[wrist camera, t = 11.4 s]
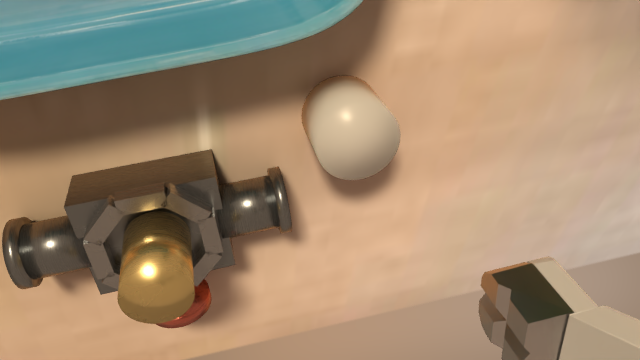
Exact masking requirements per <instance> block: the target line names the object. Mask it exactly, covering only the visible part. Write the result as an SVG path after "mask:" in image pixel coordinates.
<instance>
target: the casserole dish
mask: <svg viewBox="0 0 640 360" xmlns="http://www.w3.org/2000/svg"><path fill="white" fill-rule="evenodd" d="M362 1H363V0H0V100H4V99H10V98H16V97H21V96H27V95H33V94H38V93H44V92H49V91H54V90H59V89H64V88H70V87H75V86H81V85H86V84H92V83H97V82H102V81H108V80H113V79H118V78H124V77H129V76H134V75H140V74H145V73H151V72H156V71H162V70H167V69H172V68H178V67H183V66H189V65H194V64H199V63H205V62H210V61H215V60H220V59H226V58H231V57H235V56H240V55H244V54H249V53H253V52H258V51H263V50H267V49H271V48H275V47H279V46H282V45H286V44H289V43H292V42H295V41H299V40H302V39H304V38H307V37H310V36H312V35H315V34H317V33H320V32H322V31H324V30H326V29H328V28H330V27H332V26H333V25H335V24H336V23H338V22H340V21H341V20H343V19H344V18H345V17H347V16H348V15H349V14H351V13H352V12H353V11H354V10H355V9H356V8H357V7H358V6H359V5H360V4H361V3H362Z"/></svg>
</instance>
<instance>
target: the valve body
mask: <svg viewBox="0 0 640 360" xmlns="http://www.w3.org/2000/svg"><path fill="white" fill-rule="evenodd" d="M267 172H268V176H263V177H258V178H253V179H248V180H243V181H238V182H233V183H228V184H223V185H219V181H218V176H217V172H216V167H215V163H214V158H213V154H212V149H211V150H206V151H201V152H195V153H190V154H185V155H180V156H174V157H169V158H164V159H158V160H153V161H148V162H143V163H137V164H132V165H127V166H122V167H116V168H111V169H106V170H101V171H95V172H90V173H85V174H80V175H74V176H72V179H71V183H70V186H69V190H68V194H67V198H66V201H65V205H64V208H65V211H66V213H67V215H68V216H63V217H58V218H53V219H48V220H43V221H38V222H33V223H32V222H31V220H29V219H28V218H26V217H21V218H16V219H11V220H9V221H8V222H7V223H6V225H5V227H4V230H3V237H2V247H3V255H4V260H5V264H6V267H7V270H8V273H9V275H10V277H11V279H12V281H13V282H14V283H15V285H16V286H17V287H19V288H20V289H28V288H32V287H37V286H39V285H40V284H41V282H42V280H43V278H45V277H50V276H54V275H59V274H64V273H68V272H73V271H78V270H82V269H87V268H90V270H91V272H92V275H93V277H94V280H95V282H96V284H97V287H98V289H99V292H100V294H106V293H110V292H115V291H118V288H119V277H120V267H121V257H122V247H123V236H124V232H125V229H126V227H127V226H128V225H129V223H130V222H131V221H132V220H134V219H135V218H137V217H138V216H140V215H143V214H145V213H149V212H167V213H171V214H173V215H176V216H178V217H179V218H181V219H182V220H183V221H184V222H185V223H186V224H187V226H188V228H189V230H190V234H191V246H192V261H193V276H194V290H195V296H194V301H193V303H192V305H191V307H190V308H189V309H188V310H187V311H186V312H185V313H184V314H183V315H181V316H180V317H178V318H176V319H174V320H171V321H168V322H164V323H157V324H156V325H158V326H160V327H164V328H178V327H183V326H186V325H189V324H191V323H193V322H195V321H196V320H198V319H199V318H201V317H202V316H203V315H204V314H205V313H206V311H207V310H208V308H209V306H210V304H211V293H210V290H209V286H208V283H207V282H206V280H205V279H204V278H205V277H206V275H207V274H208V273H209V272H210V271H211V270H214V269H218V268H223V267H227V266H232V265H235V259H234V253H233V247H232V241H231V237H236V236H241V235H245V234H250V233H255V232H259V231H264V230H269V229H273V228H278V227H279V231H280V233H281V234H282V233H286V232H291V231H292V223H291V216H290V210H289V204H288V199H287V195H286V190H285V186H284V182H283V178H282V174H281V171H280V169H279V167H274V168H269V169H267Z"/></svg>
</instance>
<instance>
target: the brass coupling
mask: <svg viewBox="0 0 640 360" xmlns="http://www.w3.org/2000/svg"><path fill="white" fill-rule="evenodd" d="M194 296H195V290H194V276H193V261H192V246H191V234H190V230H189V228H188V226H187V224H186V223H185V222H184V221H183V220H182V219H181V218H179V217H178V216H176V215H173V214H171V213H167V212H149V213H145V214H143V215H140V216H138V217H137V218H135V219H134V220H132V221H131V222H130V223H129V225H128V226H127V227H126V229H125V232H124V236H123V247H122V257H121V267H120V277H119V288H118V304H119V306H120V308H121V310H122V311H123V312H124V313H125V314H126V315H127V316H128V317H130V318H132V319H134V320H136V321H139V322H143V323H150V324H157V323H164V322H168V321H171V320H174V319H176V318H178V317H180V316H181V315H183V314H184V313H185V312H186V311H187V310H188V309H189V308H190V307H191V305H192V303H193V301H194Z"/></svg>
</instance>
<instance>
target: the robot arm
mask: <svg viewBox="0 0 640 360" xmlns="http://www.w3.org/2000/svg"><path fill="white" fill-rule="evenodd" d="M481 287H482V288H483V290H484V291H485V294H484V295H483V297H482V298H481V299H480V301H479V315H480V320H481V324H482V327H483V329H484V331H485V333H486V335H487V337H488V338H489V340H490V341H491V343H493V344H495V345H497V346H499V347H501V348H502V349H503V351H502V360H640V320H638V319H635V318H633V317H631V316H629V315H626V314H624V313H622V312H619V311H617V310H615V309H612V308H610V307H608V306H601V307H598V306H597V305H596V304H595V302H594V301H593V300H592V299H591V298H590V297H589V296H588V295H587V294H586V293H585V292H584V291H583V290H582V288H581V287H580V286H579V285H578V284H577V283H576V282H575V281H574V280H573V279H572V278H571V277H570V276H569V275H568V273H567V272H566V271H565V270H564V269H563V268H562V267H561V266H560V265H559V264H558V263H557V262H556V260H555V259H553V258H551V257H549V256H548V257H544V258H540V259H536V260H532V261H528V262H523V263H519V264H515V265H511V266H507V267H503V268H499V269H495V270H492V271H488V272H485V273H484V274H483V276H482V280H481Z"/></svg>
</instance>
